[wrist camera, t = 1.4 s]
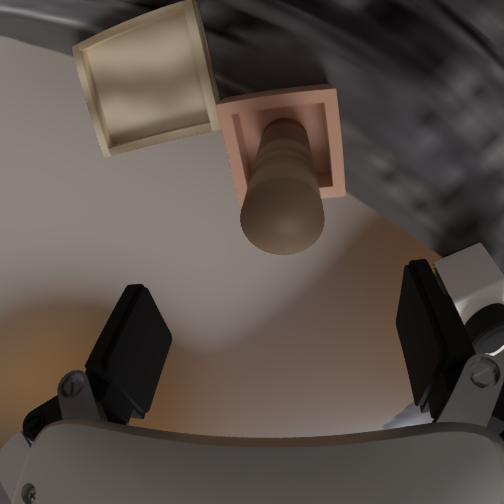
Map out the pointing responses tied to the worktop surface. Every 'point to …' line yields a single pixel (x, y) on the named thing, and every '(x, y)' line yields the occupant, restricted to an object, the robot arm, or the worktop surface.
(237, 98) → the pink square box
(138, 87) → the tray
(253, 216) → the dowel
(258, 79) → the worktop surface
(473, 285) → the medicine bottle
